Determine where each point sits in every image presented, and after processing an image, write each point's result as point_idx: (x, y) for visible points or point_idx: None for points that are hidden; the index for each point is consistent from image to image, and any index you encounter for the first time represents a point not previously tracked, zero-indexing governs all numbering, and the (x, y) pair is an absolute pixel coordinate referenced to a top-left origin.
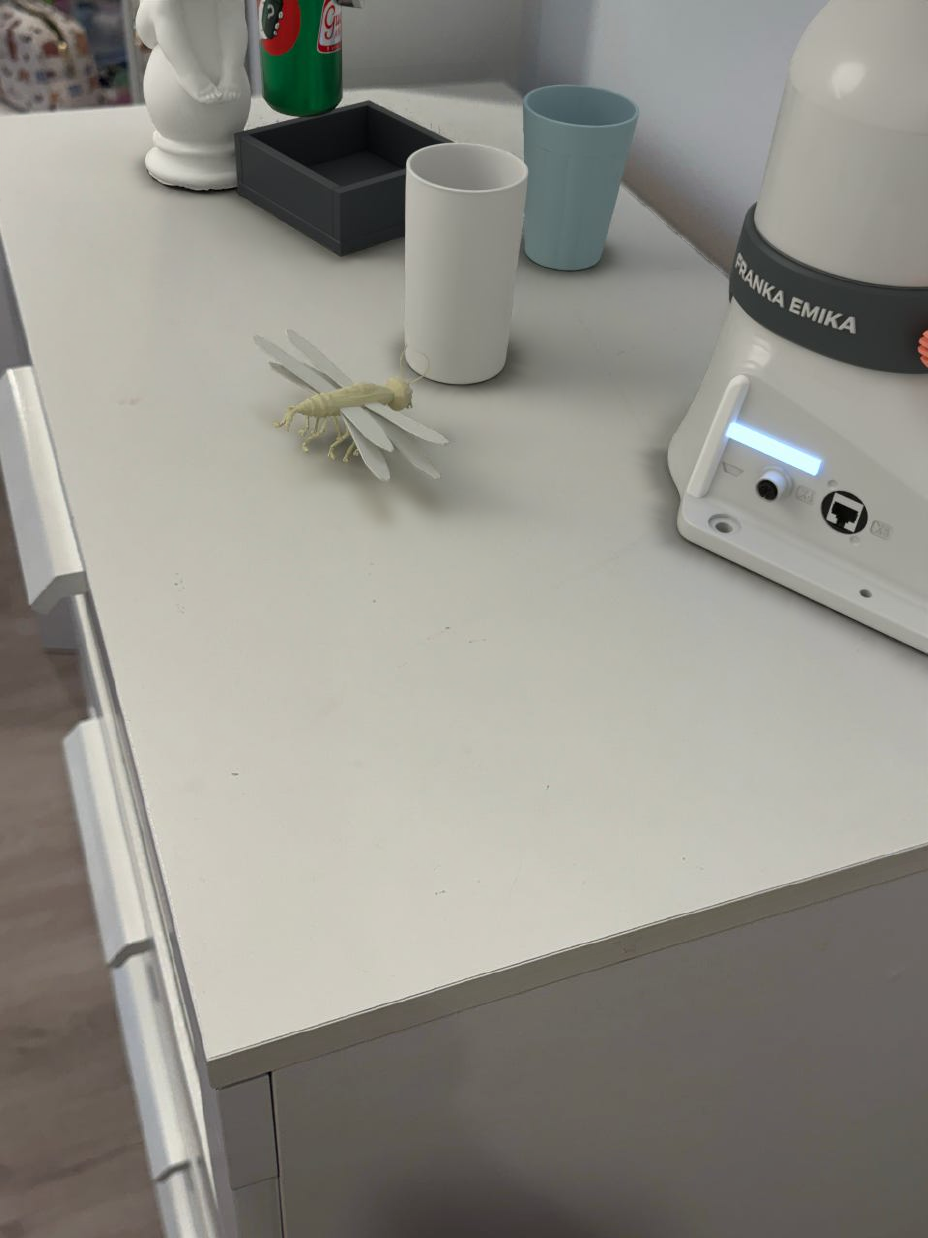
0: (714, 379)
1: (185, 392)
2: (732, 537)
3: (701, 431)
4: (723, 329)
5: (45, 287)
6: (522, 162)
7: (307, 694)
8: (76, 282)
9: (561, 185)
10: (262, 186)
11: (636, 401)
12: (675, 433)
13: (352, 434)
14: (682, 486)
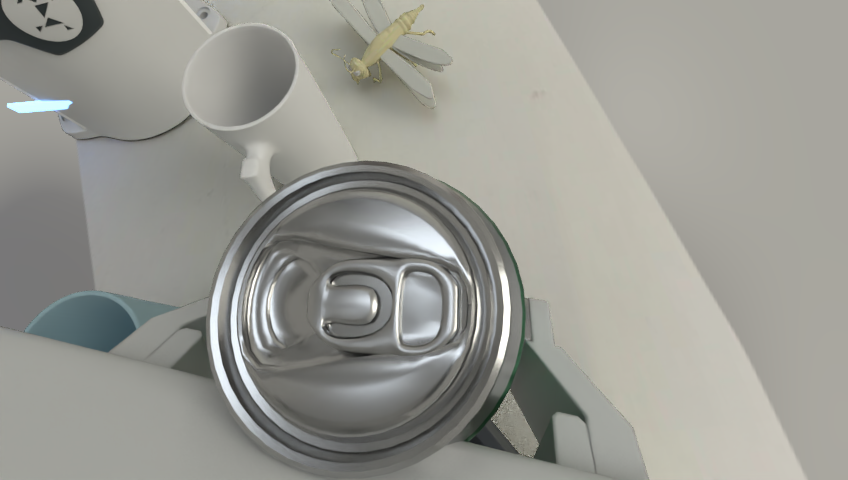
0: (152, 3)
1: (504, 108)
2: (201, 5)
3: (182, 15)
4: (122, 7)
5: (658, 237)
6: (183, 93)
7: None
8: (635, 249)
9: (170, 306)
10: (499, 434)
11: (216, 136)
12: None
13: (384, 9)
14: None
